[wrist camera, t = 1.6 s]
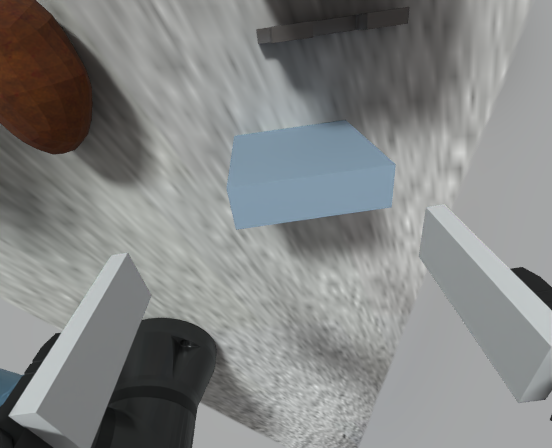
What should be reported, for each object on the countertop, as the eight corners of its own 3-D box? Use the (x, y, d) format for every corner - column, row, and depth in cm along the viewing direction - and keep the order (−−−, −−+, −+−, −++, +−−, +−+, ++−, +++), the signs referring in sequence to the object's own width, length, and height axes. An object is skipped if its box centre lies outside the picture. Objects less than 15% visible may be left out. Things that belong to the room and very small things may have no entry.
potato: (62, -25, 22) (-17, -50, 16) (134, 128, 29) (99, 157, 22) (-32, 1, 23) (-150, -12, 16) (58, 147, 29) (1, 181, 22)
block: (345, 160, 32) (390, 219, 22) (242, 175, 32) (238, 241, 22) (345, 119, 30) (395, 164, 19) (234, 135, 30) (226, 188, 19)
